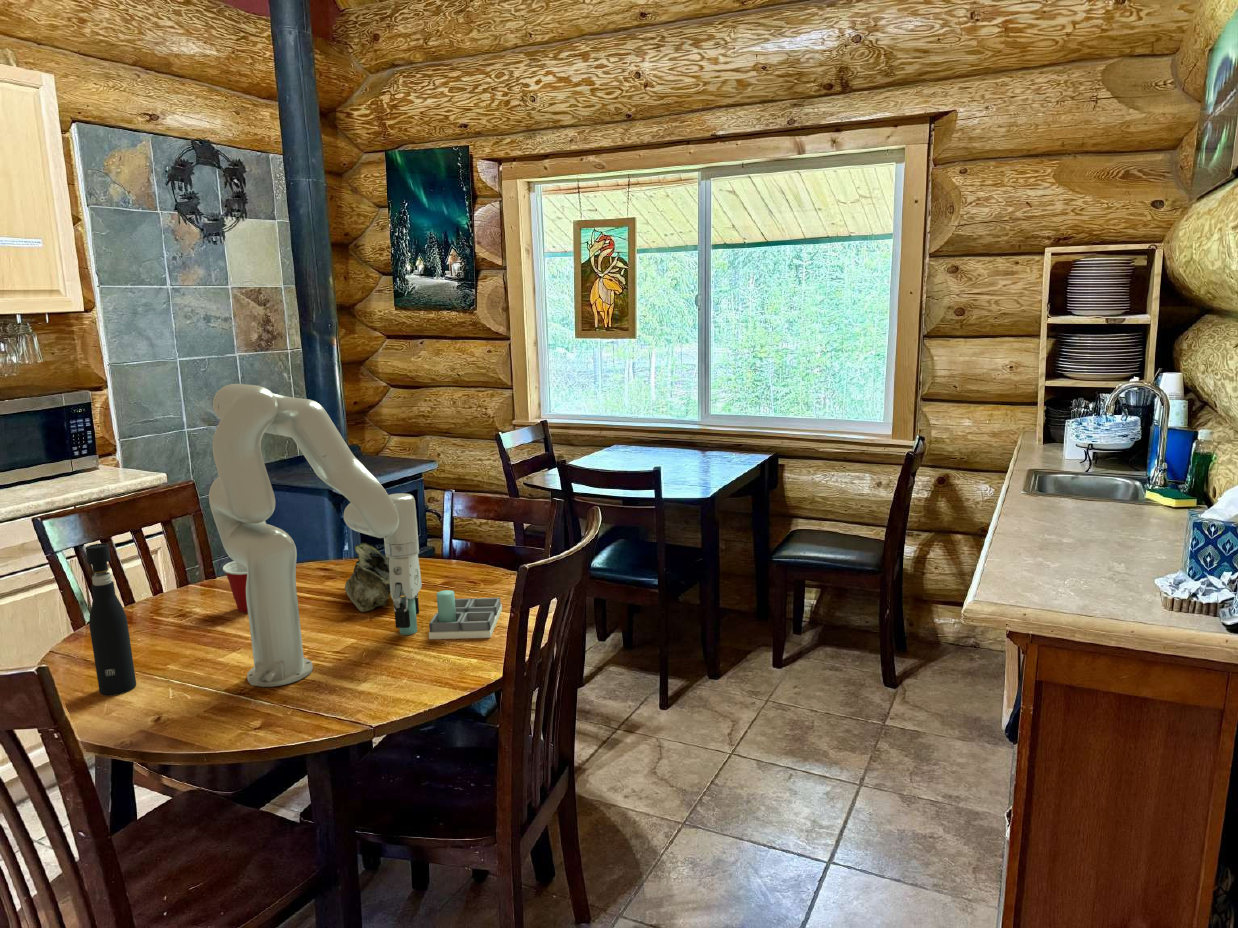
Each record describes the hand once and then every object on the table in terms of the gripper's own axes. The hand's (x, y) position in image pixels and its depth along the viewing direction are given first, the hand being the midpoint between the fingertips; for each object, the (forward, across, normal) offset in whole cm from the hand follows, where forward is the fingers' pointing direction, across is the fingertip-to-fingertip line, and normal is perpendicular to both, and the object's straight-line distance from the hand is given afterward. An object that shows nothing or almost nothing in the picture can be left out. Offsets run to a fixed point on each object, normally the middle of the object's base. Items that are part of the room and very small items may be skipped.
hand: (407, 620), depth 193 cm
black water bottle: (+3, -27, +52) cm, 59 cm away
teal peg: (+3, 0, 0) cm, 3 cm away
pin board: (+3, +4, -13) cm, 14 cm away
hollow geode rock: (+3, +26, +15) cm, 30 cm away
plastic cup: (+3, +18, +45) cm, 49 cm away
